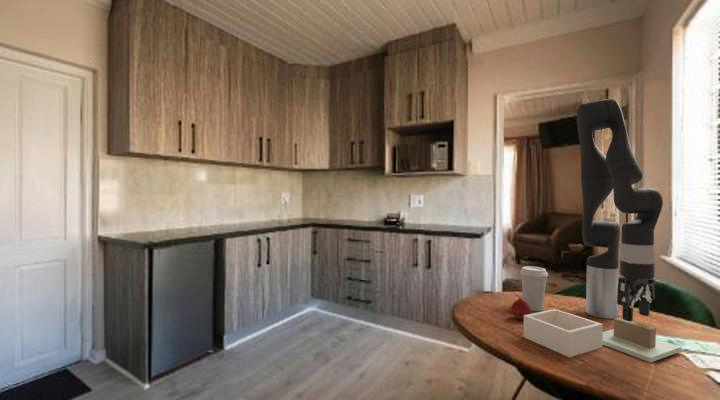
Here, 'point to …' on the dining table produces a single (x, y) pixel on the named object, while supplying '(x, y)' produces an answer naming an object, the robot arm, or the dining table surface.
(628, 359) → the dining table surface
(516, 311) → the onion
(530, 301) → the coffee cup
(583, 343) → the box
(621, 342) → the lid
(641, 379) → the dining table surface
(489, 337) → the dining table surface
